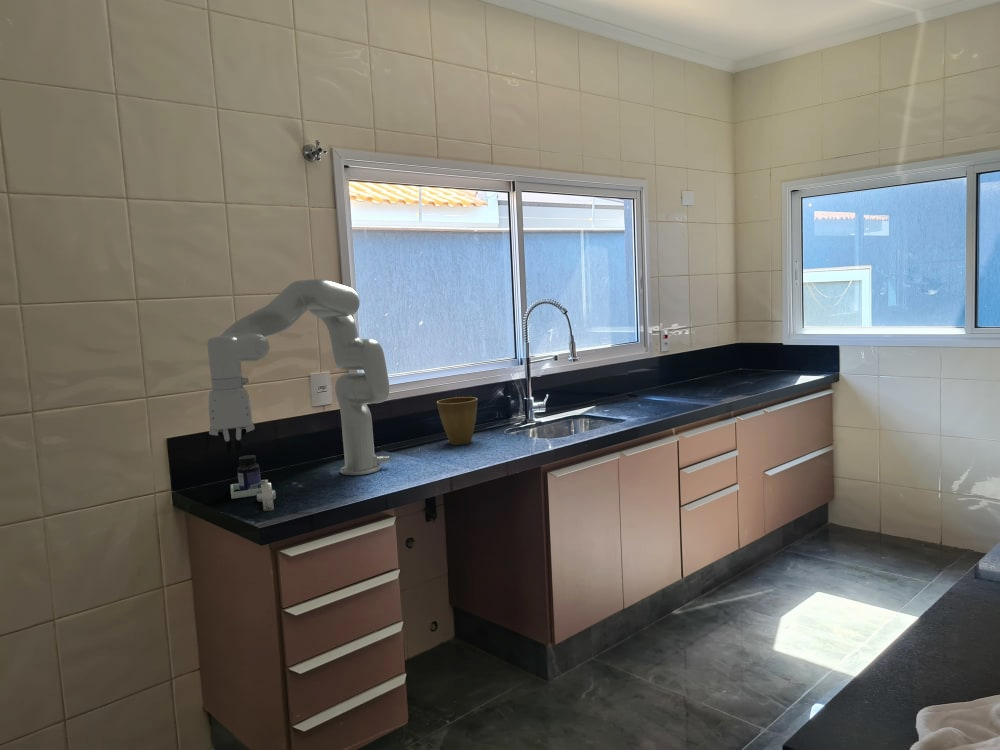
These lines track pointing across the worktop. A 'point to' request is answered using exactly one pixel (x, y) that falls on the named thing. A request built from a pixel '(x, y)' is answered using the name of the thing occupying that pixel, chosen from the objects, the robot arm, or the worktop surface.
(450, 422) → the plant pot
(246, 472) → the pill bottle
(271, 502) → the crank
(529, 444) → the worktop surface
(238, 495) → the pale green square frame
